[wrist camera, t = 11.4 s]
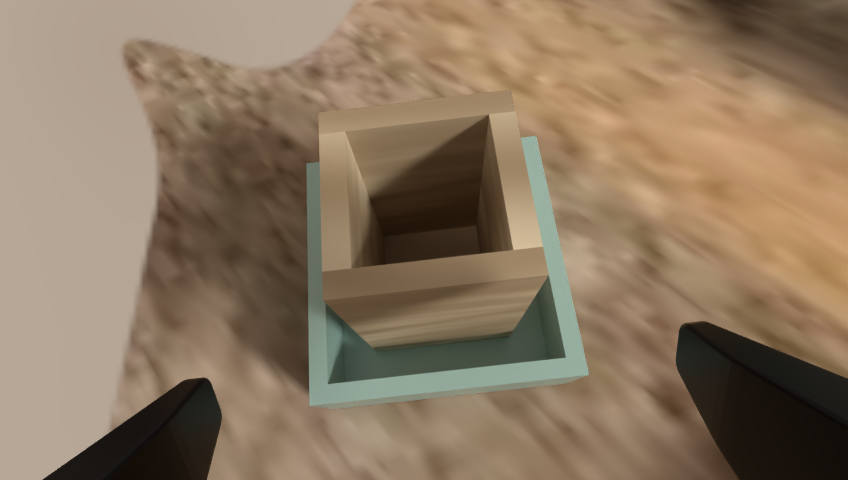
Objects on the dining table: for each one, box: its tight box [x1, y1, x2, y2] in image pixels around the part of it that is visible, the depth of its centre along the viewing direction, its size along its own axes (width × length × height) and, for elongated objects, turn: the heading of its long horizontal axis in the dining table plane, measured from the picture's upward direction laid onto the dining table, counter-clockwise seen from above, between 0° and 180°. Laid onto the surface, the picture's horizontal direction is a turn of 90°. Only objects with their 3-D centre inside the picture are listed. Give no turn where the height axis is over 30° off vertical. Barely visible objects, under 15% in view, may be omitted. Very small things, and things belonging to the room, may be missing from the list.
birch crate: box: [319, 90, 549, 352], centre depth 18 cm, size 6×6×10 cm
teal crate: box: [306, 136, 589, 409], centre depth 21 cm, size 10×10×4 cm
